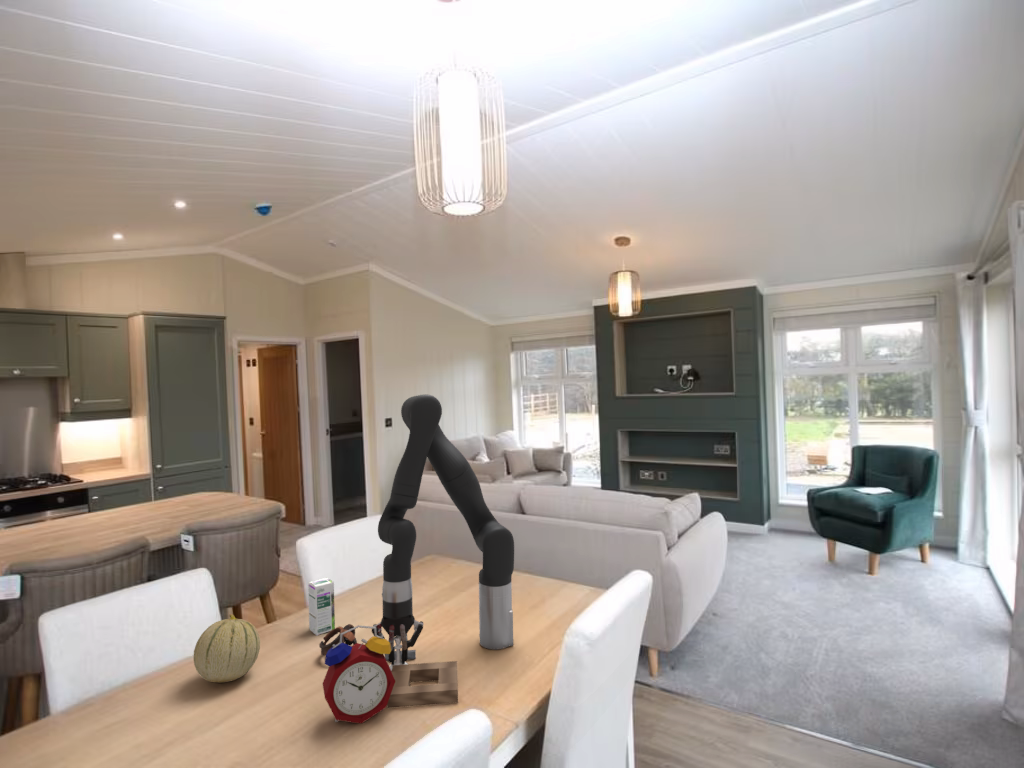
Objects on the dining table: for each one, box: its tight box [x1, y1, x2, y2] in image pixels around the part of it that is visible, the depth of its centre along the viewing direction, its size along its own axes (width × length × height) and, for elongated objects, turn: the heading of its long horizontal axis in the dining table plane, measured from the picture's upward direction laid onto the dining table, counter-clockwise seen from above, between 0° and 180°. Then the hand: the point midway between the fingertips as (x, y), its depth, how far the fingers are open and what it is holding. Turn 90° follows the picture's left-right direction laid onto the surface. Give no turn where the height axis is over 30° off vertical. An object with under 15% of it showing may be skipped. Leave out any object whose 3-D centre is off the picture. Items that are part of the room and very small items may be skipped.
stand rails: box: [384, 649, 417, 672], centre depth 140 cm, size 8×11×2 cm
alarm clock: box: [322, 624, 395, 724], centre depth 121 cm, size 15×9×20 cm, turn 114°
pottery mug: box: [318, 623, 358, 657], centre depth 149 cm, size 12×10×8 cm
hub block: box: [386, 660, 459, 709], centre depth 130 cm, size 16×13×3 cm
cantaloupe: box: [193, 613, 261, 684], centre depth 136 cm, size 15×15×15 cm
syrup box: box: [307, 577, 336, 636], centre depth 163 cm, size 6×6×14 cm
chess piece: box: [389, 636, 408, 671], centre depth 140 cm, size 5×5×10 cm
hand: (398, 662), depth 140 cm, fingers closed on chess piece
